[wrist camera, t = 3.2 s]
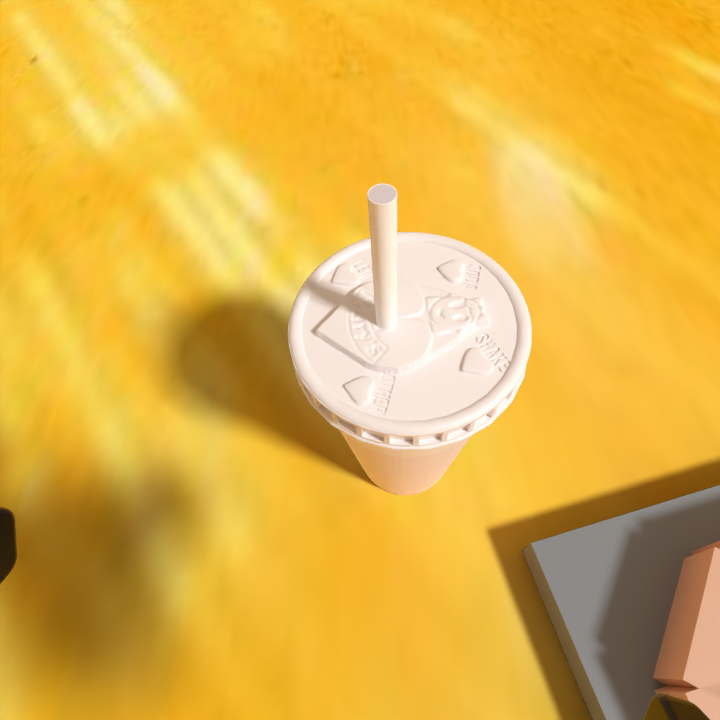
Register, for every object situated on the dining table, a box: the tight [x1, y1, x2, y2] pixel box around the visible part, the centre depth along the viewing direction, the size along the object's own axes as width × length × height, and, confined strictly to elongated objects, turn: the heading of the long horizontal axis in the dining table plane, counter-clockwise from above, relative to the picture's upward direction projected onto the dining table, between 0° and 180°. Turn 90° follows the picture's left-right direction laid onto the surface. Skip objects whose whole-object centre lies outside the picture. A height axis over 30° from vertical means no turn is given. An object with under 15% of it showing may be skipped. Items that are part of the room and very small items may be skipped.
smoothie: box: [288, 184, 532, 495], centre depth 16 cm, size 6×6×14 cm
